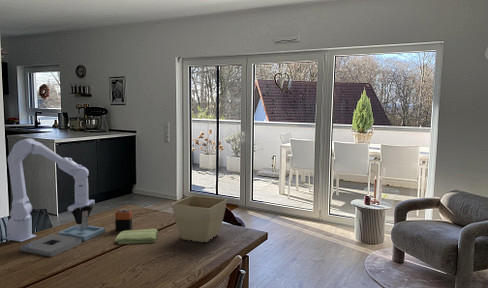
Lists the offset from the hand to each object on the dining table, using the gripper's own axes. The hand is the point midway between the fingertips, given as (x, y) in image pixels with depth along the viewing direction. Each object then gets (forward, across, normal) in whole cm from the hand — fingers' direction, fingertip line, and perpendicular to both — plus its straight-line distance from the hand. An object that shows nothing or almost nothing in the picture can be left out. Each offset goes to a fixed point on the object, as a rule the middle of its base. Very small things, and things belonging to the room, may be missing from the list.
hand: (82, 222), depth 169 cm
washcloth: (+6, +5, -26) cm, 27 cm away
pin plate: (+5, -17, 0) cm, 18 cm away
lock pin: (+3, 0, 0) cm, 3 cm away
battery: (+6, +13, -13) cm, 19 cm away
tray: (+6, 0, 0) cm, 6 cm away
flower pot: (+6, +18, -51) cm, 54 cm away
